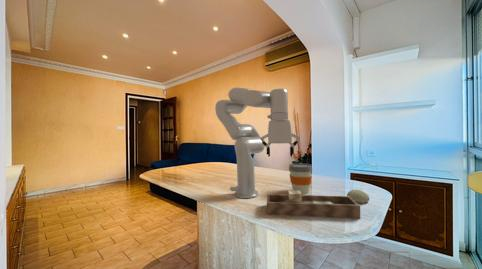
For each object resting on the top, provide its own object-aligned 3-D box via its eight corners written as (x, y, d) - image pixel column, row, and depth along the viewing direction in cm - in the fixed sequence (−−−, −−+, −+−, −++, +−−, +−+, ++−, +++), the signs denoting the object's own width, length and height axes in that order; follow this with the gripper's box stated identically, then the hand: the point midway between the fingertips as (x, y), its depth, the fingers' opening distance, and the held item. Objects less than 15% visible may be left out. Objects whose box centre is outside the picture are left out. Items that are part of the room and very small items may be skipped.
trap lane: (267, 214, 83) (266, 202, 83) (267, 204, 93) (267, 194, 93) (360, 218, 77) (360, 205, 77) (349, 207, 88) (349, 196, 87)
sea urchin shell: (360, 201, 89) (349, 186, 94) (350, 209, 95) (340, 194, 100) (375, 199, 92) (364, 184, 97) (365, 206, 97) (355, 192, 102)
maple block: (289, 205, 84) (289, 193, 84) (288, 201, 89) (288, 190, 89) (301, 205, 83) (301, 194, 83) (300, 201, 88) (299, 190, 88)
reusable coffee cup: (291, 195, 106) (291, 167, 106) (287, 188, 118) (287, 163, 118) (315, 195, 105) (315, 167, 105) (309, 188, 118) (308, 163, 117)
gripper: (259, 117, 85) (260, 157, 85) (300, 116, 82) (301, 157, 83) (260, 118, 92) (261, 155, 93) (298, 117, 89) (299, 155, 90)
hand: (280, 156), depth 88 cm, fingers open, 9 cm apart
